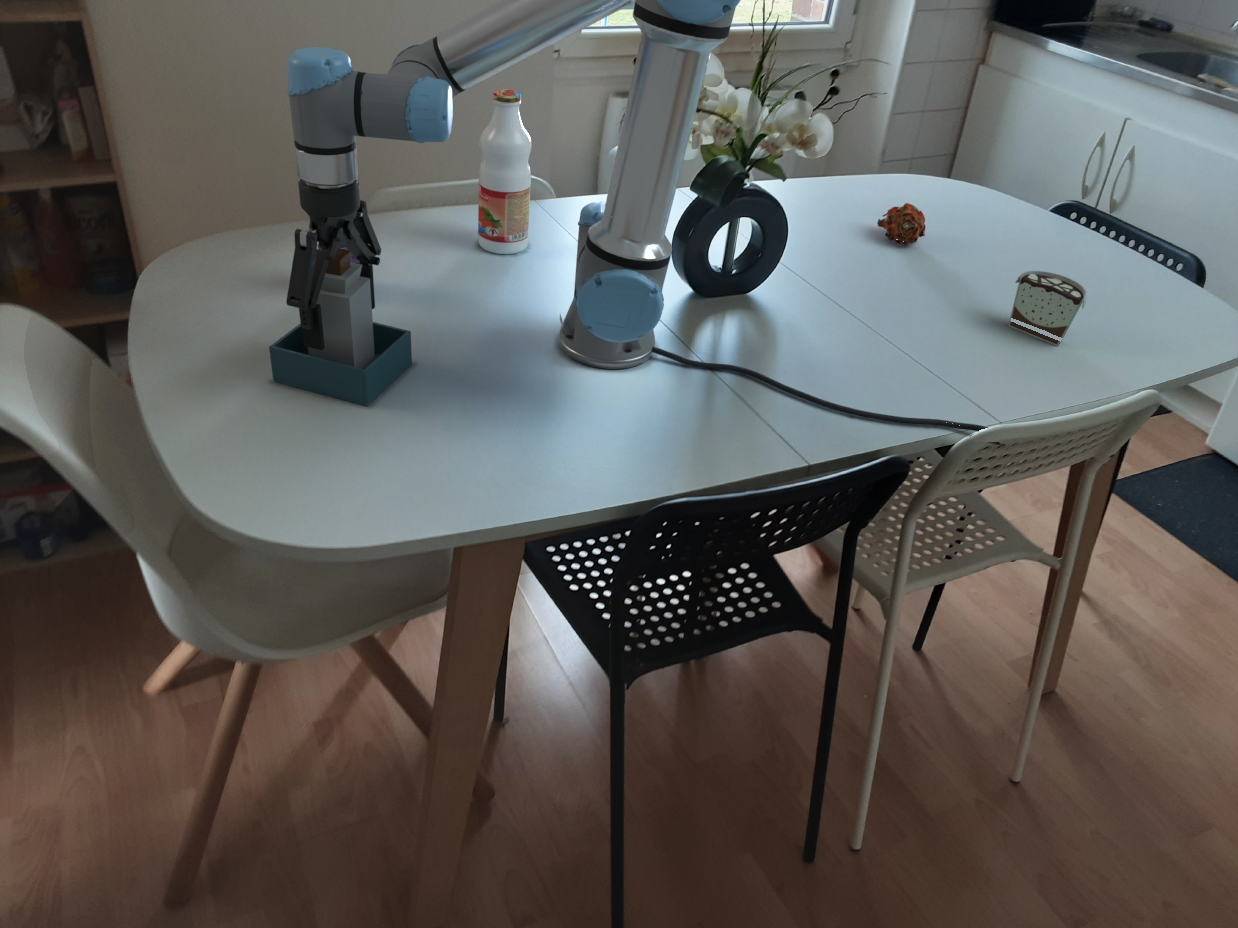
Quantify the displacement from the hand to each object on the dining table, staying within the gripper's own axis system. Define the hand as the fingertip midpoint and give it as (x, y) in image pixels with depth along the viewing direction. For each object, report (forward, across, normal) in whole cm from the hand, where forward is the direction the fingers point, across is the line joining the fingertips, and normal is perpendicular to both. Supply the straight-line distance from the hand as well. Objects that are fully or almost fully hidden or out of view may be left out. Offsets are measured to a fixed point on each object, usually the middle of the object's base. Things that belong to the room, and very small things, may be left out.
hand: (341, 326), depth 137 cm
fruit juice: (+8, -54, +2) cm, 54 cm away
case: (+8, 0, 0) cm, 8 cm away
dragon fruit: (+8, -98, +73) cm, 122 cm away
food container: (+8, -67, +101) cm, 121 cm away
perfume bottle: (+7, 0, 0) cm, 7 cm away
